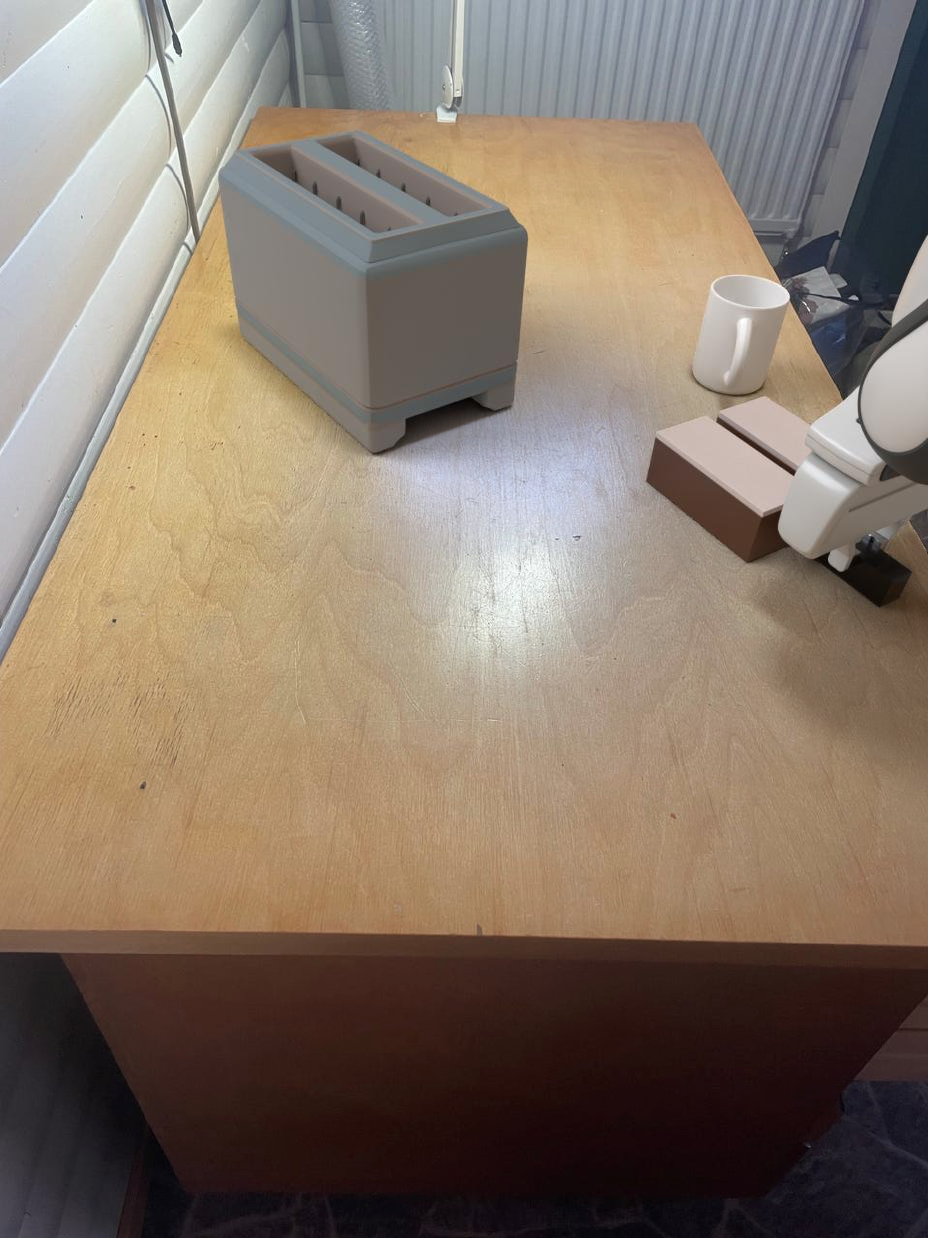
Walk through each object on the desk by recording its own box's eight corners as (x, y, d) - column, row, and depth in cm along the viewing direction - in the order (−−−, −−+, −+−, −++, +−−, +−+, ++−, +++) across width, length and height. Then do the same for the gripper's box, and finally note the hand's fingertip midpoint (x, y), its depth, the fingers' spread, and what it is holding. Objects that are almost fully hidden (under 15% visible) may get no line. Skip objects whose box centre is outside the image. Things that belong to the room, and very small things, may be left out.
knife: (899, 598, 78) (913, 571, 75) (879, 608, 77) (892, 581, 74) (722, 466, 91) (730, 440, 89) (703, 473, 90) (710, 447, 88)
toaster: (357, 290, 117) (350, 114, 102) (519, 406, 98) (537, 209, 83) (222, 325, 108) (194, 138, 94) (370, 459, 89) (362, 251, 75)
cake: (855, 516, 86) (876, 467, 82) (746, 563, 80) (763, 511, 76) (750, 443, 94) (765, 395, 90) (645, 480, 89) (656, 431, 85)
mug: (763, 419, 98) (791, 329, 91) (686, 407, 99) (707, 316, 92) (764, 366, 106) (789, 280, 99) (692, 355, 107) (712, 269, 100)
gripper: (969, 368, 75) (905, 504, 85) (792, 431, 67) (744, 573, 76) (1038, 404, 71) (963, 542, 81) (859, 475, 63) (800, 619, 73)
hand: (855, 558), depth 78 cm, fingers closed on knife, 2 cm apart
